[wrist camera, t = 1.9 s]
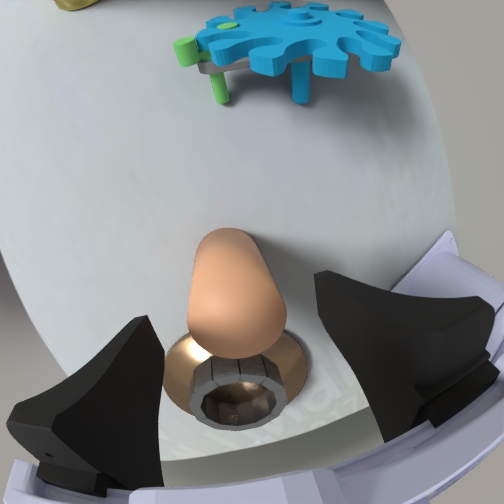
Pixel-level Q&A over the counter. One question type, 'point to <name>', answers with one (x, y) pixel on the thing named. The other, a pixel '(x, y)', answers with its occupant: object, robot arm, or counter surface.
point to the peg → (233, 297)
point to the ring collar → (234, 383)
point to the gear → (287, 45)
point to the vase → (73, 4)
